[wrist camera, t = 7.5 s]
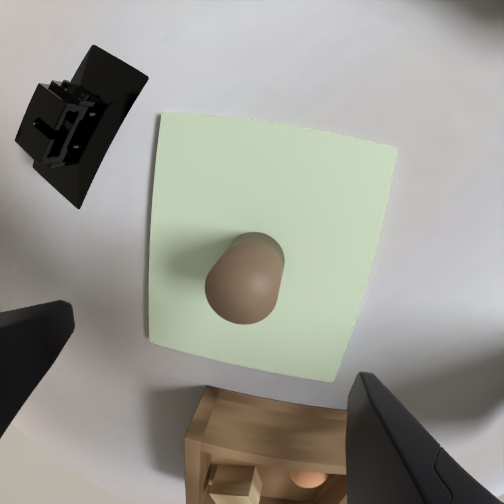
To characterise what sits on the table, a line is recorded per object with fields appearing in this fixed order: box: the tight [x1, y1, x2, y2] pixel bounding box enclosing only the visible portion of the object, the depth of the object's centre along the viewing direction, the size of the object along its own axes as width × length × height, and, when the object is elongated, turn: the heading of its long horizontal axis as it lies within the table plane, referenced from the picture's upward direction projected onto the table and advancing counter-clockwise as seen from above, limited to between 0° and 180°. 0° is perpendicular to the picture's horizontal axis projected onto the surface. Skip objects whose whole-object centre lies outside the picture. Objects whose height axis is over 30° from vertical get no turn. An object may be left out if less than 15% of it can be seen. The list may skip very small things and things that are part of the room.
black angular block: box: [15, 45, 149, 209], centre depth 15 cm, size 12×7×5 cm, turn 143°
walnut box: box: [184, 386, 347, 504], centre depth 20 cm, size 12×14×5 cm
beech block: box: [209, 465, 262, 504], centre depth 21 cm, size 3×3×3 cm
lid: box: [149, 112, 398, 383], centre depth 15 cm, size 12×14×5 cm
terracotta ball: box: [289, 469, 329, 488], centre depth 19 cm, size 3×3×3 cm
